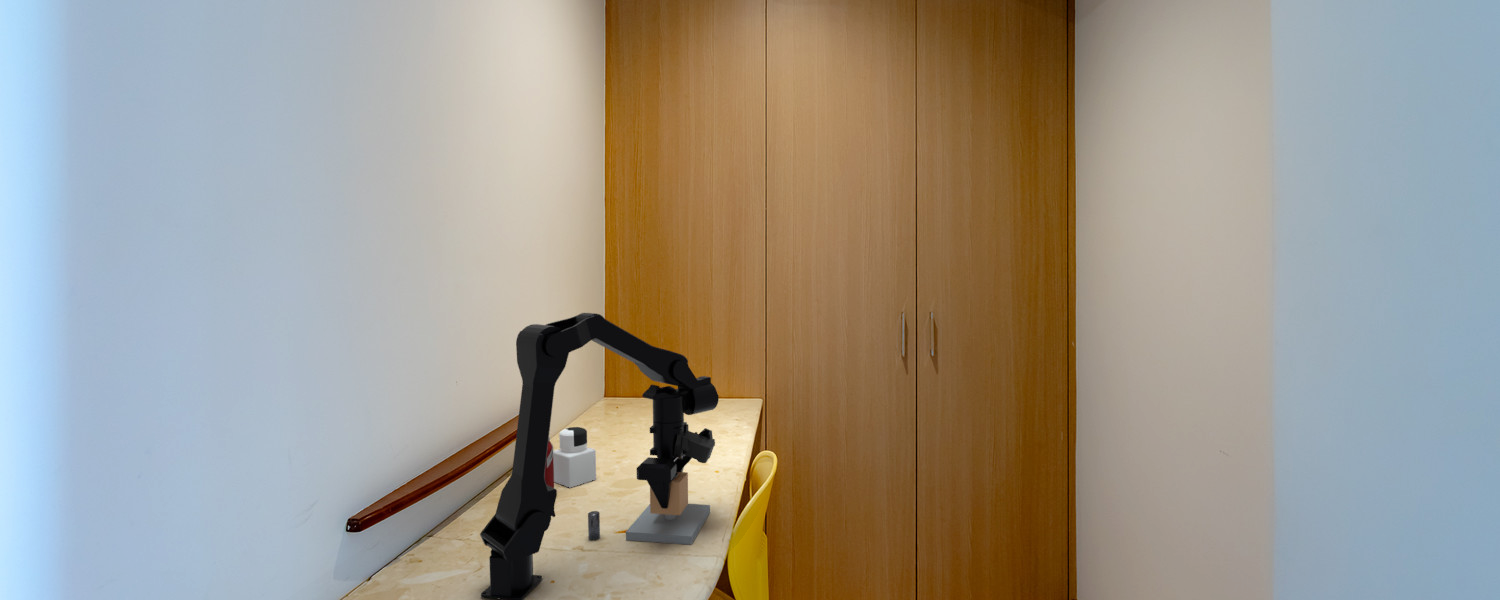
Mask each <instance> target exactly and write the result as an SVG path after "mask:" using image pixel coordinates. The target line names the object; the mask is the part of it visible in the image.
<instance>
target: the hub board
mask: <svg viewBox="0 0 1500 600" xmlns="http://www.w3.org/2000/svg"><path fill="white" fill-rule="evenodd" d="M710 514H711V504H699V503H697V504H696V503H688V504H687V506H686V507H685V509H684V510H683V511H682V513H681V514H680V515H668V514H653V513H650V503H649V504H648V505H647V507H646V508H645V509H644V510H643V511H642V513H640V514H639V516H638V517H637V518H636V520H635V521H634V522H633V523H632V524H631V525H630V527H629V528H628V529H627V530H626V531H625V541H632V542H645V543H646V542H649V543H663V544H675V545H676V544H677V545H690V546H691V545H692V544H694V541H695V539H696V537H698V534H699V533H700V531H701V530H702V528H703V526H704V523H706V520H707V519H708V517H709V515H710Z"/></svg>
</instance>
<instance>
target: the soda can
mask: <svg viewBox="0 0 1500 600" xmlns="http://www.w3.org/2000/svg"><path fill="white" fill-rule="evenodd" d="M550 440H551V438H550V437H549V440H548V449H547V457H546V466H545V481H546V485H548V486H550V487H552V488H554V489H555V482H554V459H553V451H554V445H553V443H552V442H551V441H550Z"/></svg>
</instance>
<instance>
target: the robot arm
mask: <svg viewBox="0 0 1500 600" xmlns="http://www.w3.org/2000/svg"><path fill="white" fill-rule="evenodd" d="M515 341H516V343H515V346H516V348H515V349H516V350H515V351H516V362H517V367H518V370H519V373H520V377H521V380H522V381H521V382H522V384H521V393H520V404H519V413H518V419H517V427H516V428H517V429H516V438H515V445H514V454H513V463H512V471H511V475H510V477H509V479H508V480H507V482H506V484H505V485H504V486H503V488H502V490H501V493H500V497H499V499H498V503H497V507H496V511H495V514H494V515H493V516H492V517H491V518H490V520H489V522H488V523H487V524H486V525H485V527H484V528H483V529H482V530H481V531H480V533H479V535H480V538H481V540H482V542H483V544H484V545H485V546H487V547H489V548H490V549H491V550H490V556H489V559H488V560H489V586H487V588H485V590H483V591H482V592H481V593H480V598H482V597H491V598H500V599H499V600H502V599H510V600H524V598H525V597H526V596H527V595H528V594H529V593H530V592H531V591H532V590H533V589H534V588H535V587H536V586H537V585H538V584H539V583H540V582H541V581H542V580H543V576H542V575H540V574H538V575H537V574H534V557H533V556H534V554H537V553H539V552H540V548H541V547H542V546H541V545H542V542H543V538H544V535H545V532H547V530H549V528H550V526H551V521H552V517H553V518H555V517H556V512H555V506H556V505H555V504H556V499H557V496H558V491H557V489H556V488H555V487H554V488H552V487H550V486H548V485H546V481H545V466H546V457H547V449H548V440H549V438H550V431H551V429H550V428H551V423H552V422H551V421H552V413H553V403H554V394H555V386H556V383H557V382H558V380H559V378H560V377H561V375H562V374H563V372H564V370H565V368H566V367H567V366H566V365H567V362H568V358H569V355H570V353H571V352H574V351H575V350H578V349H581V348H583V347H584V346H585V345H587V344H588V343H590V342H591V341H592V342H594V343H595V344H598V345H599V346H601V347H604V348H606V349H607V350H609V351H611V352H613V353H614V354H617V355H619V356H620V357H622V358H624V359H626V360H628V361H630V362H632V363H633V364H634V365H636V366H637V368H638V369H639V371H640V372H641V373H642V374H644V375H645V376H646V377H647V378H649V379H650V380H651V381H652V382H658V383H660V384H666V385H667V386H661V387H660V386H659V385H657V384H650V385H649V387H648V388H647V389H645V391H644V392H643V393H642V395H641V396H642V398H643V399H649V400H652V425H651V426H650V427H649V434H652V438H653V439H652V440H653V441H652V442H653V443H652V445H653V446H652V448H650V449H649V455H650V456H656V457H647V458H646V459H644V460H643V461H642V462H641V463H640V464H639V465H638V466H637V467H636V480H637V481H646V482H647V483H648V485H649V488H650V487H651V489H652V490H653V492H654V494H655V496H656V498H657V500H658V502H659V504H660V506H661V508H664V509H667V508H668V504H669V497H670V490H671V482H672V481H673V480H674V479H675V478H676V476H677V475H678V474H679V473H678V472H684V468H685V467H686V466H687V464H689V462H690V461H691V460H692V459H694V460H696V461H697V462H698V463H701V464H706V463H707V462H708V461H709V459H710V458H711V456H712V453H713V450H714V448H715V445H716V439H715V438H713V431H712V429H709V428H703V430H702V431H700V432H699V433H698V432H697V431H695V432H694V431H690V430H689V424H688V422H687V421H685V415H687V416H692V415H696V414H701V413H704V412H710V411H713V410H715V409H716V408H717V407H718V404H719V399H720V398H719V397H720V396H719V394H718V390H717V389H716V387H715V386H714V384H713V383H712V377H710V376H706V375H703V376H702V375H701V376H698V377H696V375H695V374H694V372H693V371H692V369H691V367H690V366H689V360H688V358H687V357H686V356H685V355H683V354H681V353H679V352H678V353H677V352H675V351H672V350H668V349H664V348H661V347H660V348H659V347H656V346H654V345H652V344H650V343H648V342H646V341H644V340H643V339H642V338H640V337H637V336H635V335H634V334H632V333H630V332H629V331H626V330H625V329H623V328H622V327H620V326H618V325H616V324H614V323H613V322H611V321H610V320H608V319H606V318H605V317H604V316H603V315H602V314H599V313H594V312H593V313H592V312H581V313H579V314H577V315H574V316H571V317H569V318H565V319H561V320H557V321H553V322H550V323H546V324H539V323H534V324H529V325H527V326H525V327H524V328H522V330H520V331H519V332H518V334H517V337H516V340H515ZM673 386H676V387H677V388H675V387H673ZM491 598H490V599H491Z"/></svg>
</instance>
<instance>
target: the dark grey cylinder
mask: <svg viewBox="0 0 1500 600" xmlns="http://www.w3.org/2000/svg"><path fill="white" fill-rule="evenodd" d="M600 514H601V513H600V512H599V511H597V510H595V511H594V510H593V511H589V512H588V513H587V527H588V530H587V531H588V533H587V534H588V536H587V537H588V540H589V541H597V540H600V539H601V526H600V525H601V524H600V523H601V521H600V518H601V517H600Z"/></svg>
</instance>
